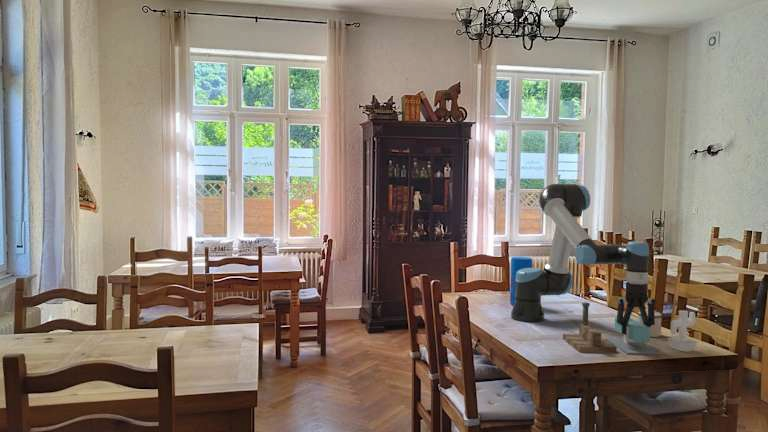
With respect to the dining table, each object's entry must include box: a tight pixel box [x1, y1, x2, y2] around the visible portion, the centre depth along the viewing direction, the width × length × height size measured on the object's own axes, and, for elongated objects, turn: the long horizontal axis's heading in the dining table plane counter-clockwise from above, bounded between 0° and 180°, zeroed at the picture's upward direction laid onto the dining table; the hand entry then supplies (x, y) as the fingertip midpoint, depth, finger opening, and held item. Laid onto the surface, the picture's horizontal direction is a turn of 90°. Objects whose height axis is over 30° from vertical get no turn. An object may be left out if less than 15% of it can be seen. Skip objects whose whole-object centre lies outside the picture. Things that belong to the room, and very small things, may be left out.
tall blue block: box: [509, 256, 533, 307], centre depth 279 cm, size 11×11×25 cm
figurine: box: [667, 310, 698, 352], centre depth 202 cm, size 7×9×15 cm
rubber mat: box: [604, 337, 661, 356], centre depth 206 cm, size 20×12×1 cm, turn 0°
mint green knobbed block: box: [614, 317, 651, 342], centre depth 205 cm, size 16×6×5 cm, turn 0°
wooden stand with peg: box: [562, 301, 618, 353], centre depth 206 cm, size 18×14×16 cm
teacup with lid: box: [637, 306, 663, 338], centre depth 225 cm, size 12×9×12 cm
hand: (634, 342), depth 203 cm, fingers closed on mint green knobbed block, 6 cm apart
